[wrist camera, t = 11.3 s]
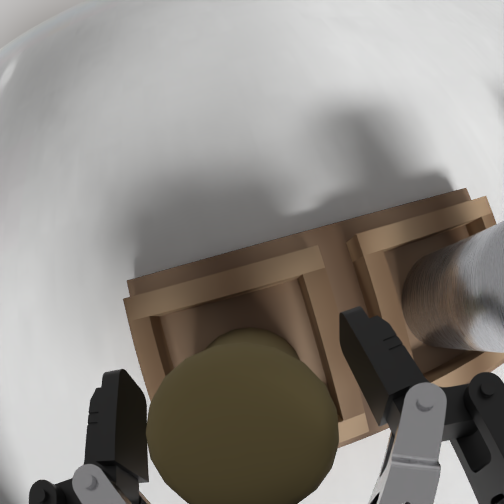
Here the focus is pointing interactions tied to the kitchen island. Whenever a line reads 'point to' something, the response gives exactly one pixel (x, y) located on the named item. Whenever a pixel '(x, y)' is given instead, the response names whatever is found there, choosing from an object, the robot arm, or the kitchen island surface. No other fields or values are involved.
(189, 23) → the kitchen island surface
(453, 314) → the steel billet
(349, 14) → the kitchen island surface
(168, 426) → the cork
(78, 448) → the kitchen island surface
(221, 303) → the brown wooden flat tray
